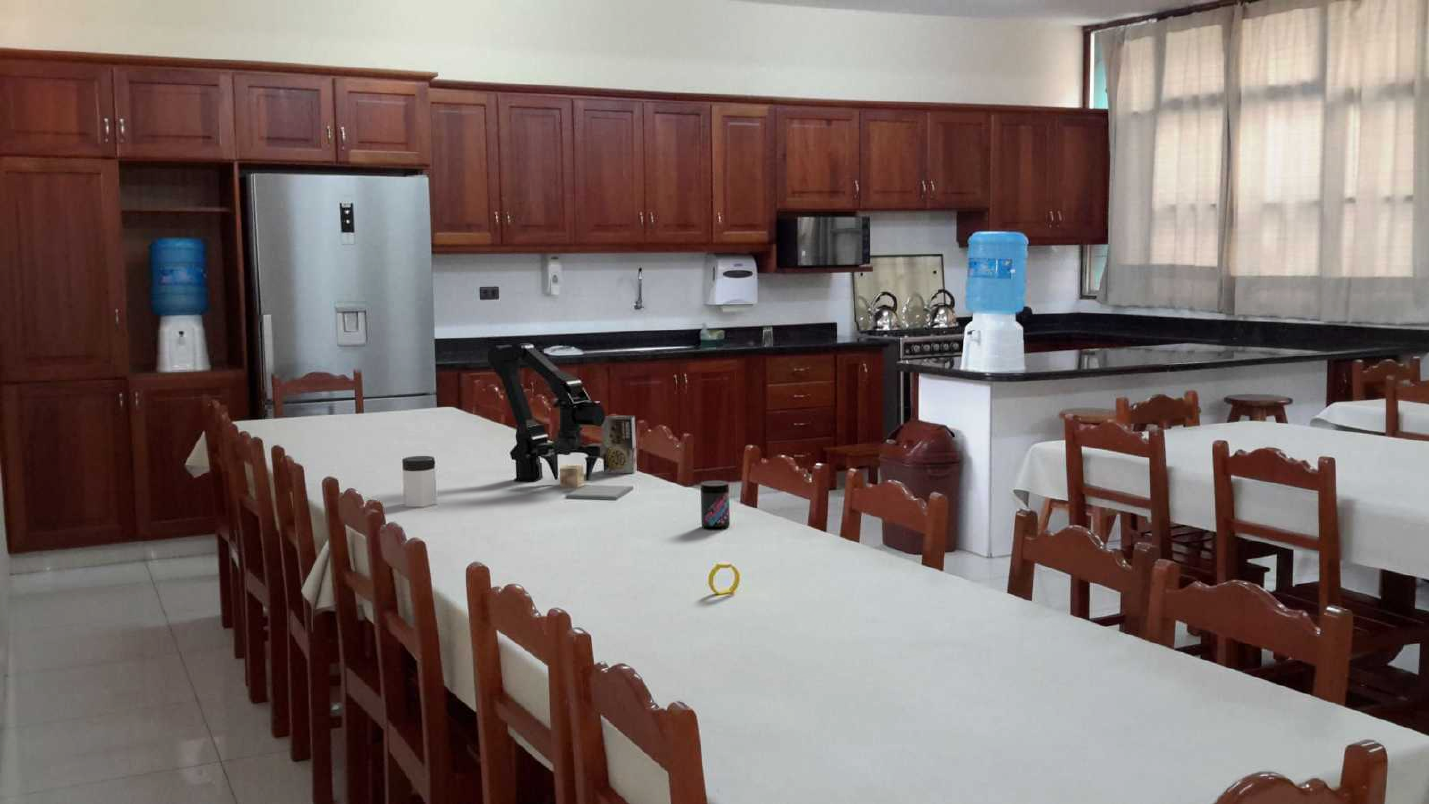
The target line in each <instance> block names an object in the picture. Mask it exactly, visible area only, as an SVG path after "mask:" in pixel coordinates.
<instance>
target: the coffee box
mask: <svg viewBox="0 0 1429 804" xmlns="http://www.w3.org/2000/svg"><path fill="white" fill-rule="evenodd" d="M636 436H637V435H636V415H605V421H604V423H603V424H602V425H601V437H602V444H604V445H605V446H606V454H604V455H602V460H603V474H634V473H635V472H637V470H638V467H637V466H638V465H637V441H636V440H637V438H636Z"/></svg>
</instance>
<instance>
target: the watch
mask: <svg viewBox="0 0 1429 804" xmlns="http://www.w3.org/2000/svg"><path fill="white" fill-rule="evenodd" d="M729 568H731V569H732V571H733V573H734V581H733V584H732V585H731V586H730V588H729V589H726V590H719V591H717V589H716V588H715V585H714V577H715V575H716V574H717V572H718V571H719V570H720V569H729ZM740 580H741V579H740V573H739V571H738V569H737V567H736V566H734V565H732V562H731V561H724V560H723V561H718V562H716V566H714V567H713V568H712V569H711V571H710V572H709V574H708V586H709V588H710V590H711V591H712V592H713V593H715V594H717V595H718V596H721V595H726V594H733V593H734V592H735V591H736V590H737V589H738V587H739V583H740Z"/></svg>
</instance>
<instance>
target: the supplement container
mask: <svg viewBox="0 0 1429 804" xmlns="http://www.w3.org/2000/svg"><path fill="white" fill-rule="evenodd" d="M699 484H700V487H699V488H700V521H701V522H700V525H701V527H702V528H703V529H704V530H710V531H720V530H725V529H728V528H729V527H730V524H731V522H730V521H731V517H730V516H731V515H730V513H731V511H730V482H729V481H726V480H705V481H701V482H700V483H699Z"/></svg>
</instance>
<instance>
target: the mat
mask: <svg viewBox="0 0 1429 804" xmlns="http://www.w3.org/2000/svg"><path fill="white" fill-rule="evenodd" d="M633 490H634V486H627V485H626V486H625V485H599V484H598V485H597V484H593V485H592V484H584V485H583V484H582V486H581V485H580V486H579V487H578V488H576V489H574V490H573V491H572V490H571V491H570V492H569V493H567V494H566V495H565V499H576V500H577V499H581V500H588V499H589V500H610V501H617V500H619V499H620V498H622V497H623V496H626V494H628V493H630V492H631V491H633Z"/></svg>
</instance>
